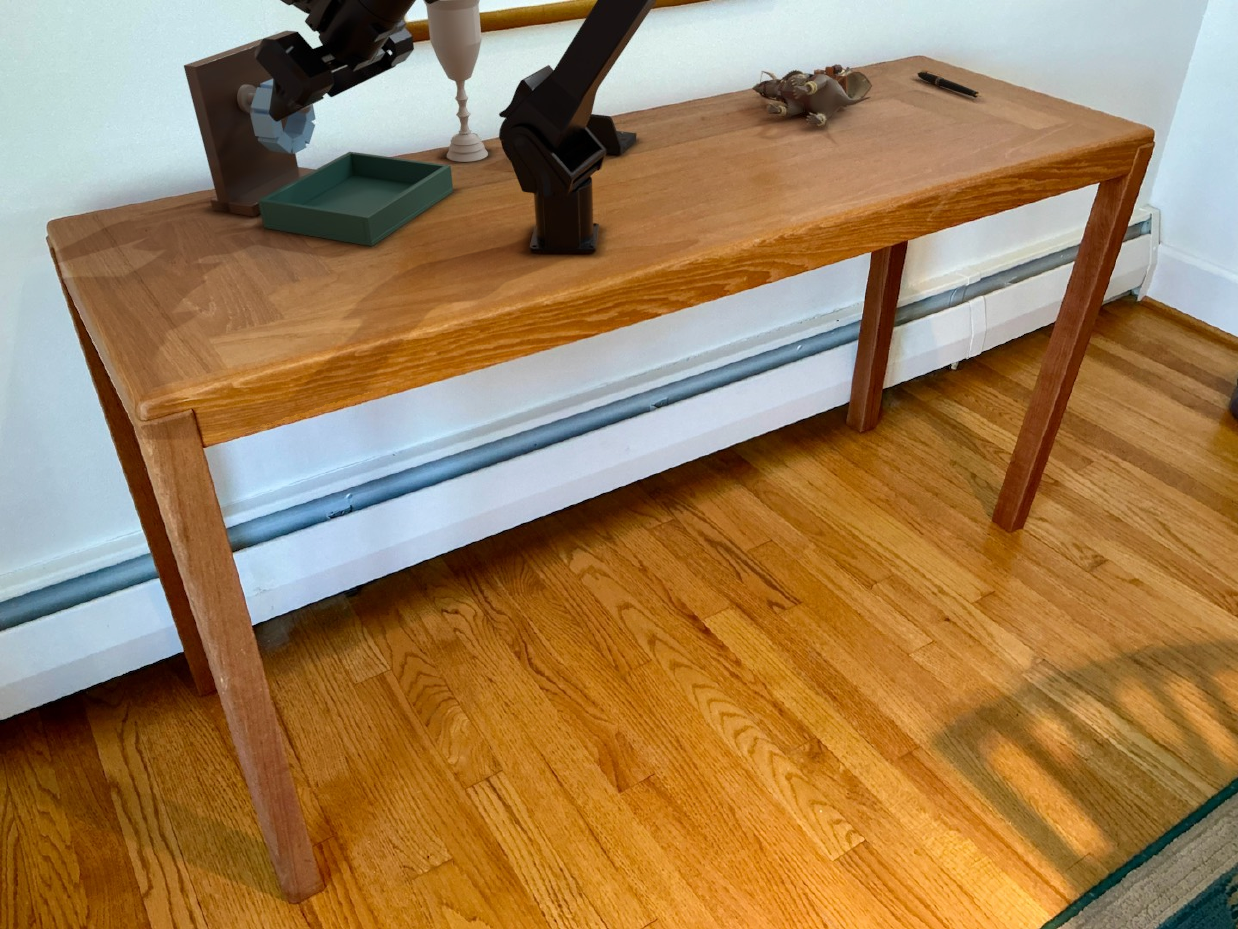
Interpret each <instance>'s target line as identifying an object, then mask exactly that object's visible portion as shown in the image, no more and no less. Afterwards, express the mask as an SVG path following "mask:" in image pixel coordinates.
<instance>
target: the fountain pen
mask: <svg viewBox="0 0 1238 929" xmlns="http://www.w3.org/2000/svg"><path fill="white" fill-rule="evenodd" d="M916 74H917V76H918V78H920V79H921V80H923V81H925V82H927V83H930V84H932V85H935V86H937V87H942V88H945V89H947V90H950V91H953V92H956V93H960V94H963V95H965V96H969V97H973V98H974V99H975V98H978V97H979V98H981V97H982V98H985V96H983V95H982V94H980V93H979V91H976V90H974V89H972V88H969V87H966V86H963V85H962V84H960V83H957V82H954V81H951V80H949V79H945V78H944V77H942V74H940V73H936V72H933V71H930V70H926V69H922V70H921V71H919V72H917V73H916Z"/></svg>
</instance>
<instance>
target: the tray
mask: <svg viewBox="0 0 1238 929" xmlns="http://www.w3.org/2000/svg"><path fill="white" fill-rule="evenodd" d="M315 169H316V170H314V171H312V172H310V173H308V174H306V175H305V176H303V177H301V178H299V179H297V180H295V181H293V182H291V183H289V184H288V185H286V186H284V187H282V188H280V189H278V190H276V191H274V192H272V193H271V194H269V195H267V196H265V197H263V198H261V199H259V200H258V203H259V208H260V212H261V213H260V216H261V220H262V223H263V224H262V225H263V229H268V230H273V231H280V232H285V233H291V234H298V235H303V236H309V237H315V238H319V239H320V238H322V239H326V240H333V241H339V242H345V243H349V244H350V243H351V244H356V245H363V246H368V247H374V246H375V245H377V244H378V243H379V242H381V241H382V240H384V239H385V238H387V237H388V236H390V235H391V234H393V233H394V232H396V231H397V230H399V229H401V227H403V226H404V225H406V224H407V223H409V222H411V221H412V220H414V219H415V218H417V217H418V216H419V215H421V214H422V213H424V212H425V211H427V210H428V209H430V208H431V207H433V206H435V204H437V203H439V202H440V201H442V200H443V199H444V198H447V197H448V196H449V195H450V194H452V193H453V192H454V186H453V177H452V166H451V165H450V164H443V163H437V162H431V161H430V162H429V161H421V160H416V159H415V160H414V159H408V158H407V159H406V158H399V157H392V156H385V155H377V154H370V153H363V152H357V151H355V152H354V151H348V152H346V153H344V154H342V155H340V156H339V157H337V158H335V159H333V160H331V161H329V162H327V163H325V164H323V165H321V166H320V167H317V168H315Z"/></svg>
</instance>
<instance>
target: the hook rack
mask: <svg viewBox="0 0 1238 929" xmlns="http://www.w3.org/2000/svg"><path fill="white" fill-rule="evenodd" d="M262 40H263V38H260V39H257V40H254V41H250V42H248V43H245V44H243V45H239V46H236V47H234V48H231V49H227V50H225V51H222V52H219V53H216V54H213V55H209V56H207V57H204V58H201V59H199V60H195V61H192V62H189V63H187V64H184V65H183V69H184V73H185V78H186V81H187V85H188V88H189V93H190V97H191V101H192V104H193V108H194V113H195V116H196V121H197V124H198V128H199V132H200V136H201V140H202V144H203V149H204V153H205V156H206V159H207V163H208V164H207V165H208V168H209V172H210V176H211V179H212V183H213V187H214V191H215V197H212V198H211V199H210V203H211V208H212V210H213V211H215V212H216V211H217V212H222V213H223V212H224V213H229V214H236V215H241V216H246V217H247V216H248V217H253V218H254V217H256V216H258V215H261V212H260V208H259V203H258V200H259V199H261V198H263V197H265V196H267V195H269V194H271V193H272V192H274V191H276V190H278V189H280V188H282V187H284V186H286V185H288V184H289V183H291V182H293V181H295V180H297V179H299V178H301V177H303V176H305V175H306V174H308V173H310V172H312V171H314V170H316V169H317V168H310V167H309V168H308V167H301V166H299V165H298V160H297V154H296V153H295V154H289V153H282V152H274V151H270V150H269V149H268V148H266V147H265V146H264V145H263V144H262V143H260V142H259V141H258V138H259V136H255V133H254V128H253V124H252V119H251V115H250V113H253V112H255V111H254V110H253V109H252V108H251V105H252V102H253V99H254V95H255V92H256V89H257V87H258V88H261V85H260V84H261V83H263V82H266V81H268V80H271V79H273V78H272V77H271V75H270V74H269V73H268V72H267V71H266V70H265V69H264V68H263V67H262V66H261V64H260V63H259V62H258V61H257V60H256V59H255V51H256V49H257V48H258V46H259V44H260V43H261V41H262ZM310 110H311V105H310V106H308V107H306V108H304V109H302V110H300V111H298V113H300V114H307V113H308V112H309V111H310ZM287 119H288V117H286V118H284V119H282V120H281V123H282V128H283V132H284V129H285V126H286V123H287Z"/></svg>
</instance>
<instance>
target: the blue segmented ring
mask: <svg viewBox="0 0 1238 929" xmlns="http://www.w3.org/2000/svg"><path fill="white" fill-rule="evenodd" d="M260 85H261V88H258V87H257V89H256V92H255V95H254V99H253V102H252V105H251V108H252V109H253V110H254V111H255V112H253V113H250V115H251V119H252V124H253V128H254V133H255V136H259V138H258V141H259V142H260V143H262V144H263V145H264V146H265V147H266V148H268V149H269V150H270V151H274V152H282V153H289V154H296V153H299V152H301V151H303V150H306V148H307V145H310V143H311V140H312V138H313V135H314V134H313V133H314V131H315V128H316V124H315V123H314V122H313V121H315V120H316V119H317V118H316V113H315V108H314V104H312V105H311V110H310V111H309V112H308V113H307V114H300V113H298V112H296V113H294V114H292V115H290V116H288V119H287V123H286V126H285V129H284V132H283V128H282V123H281V120H280V121H278V122H276V121H274V119H273V118H272V117H271V116H270V115H269V109H270V102H271V95H272V88H273V79H271V80H268V81H266V82H263V83H261V84H260Z"/></svg>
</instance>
